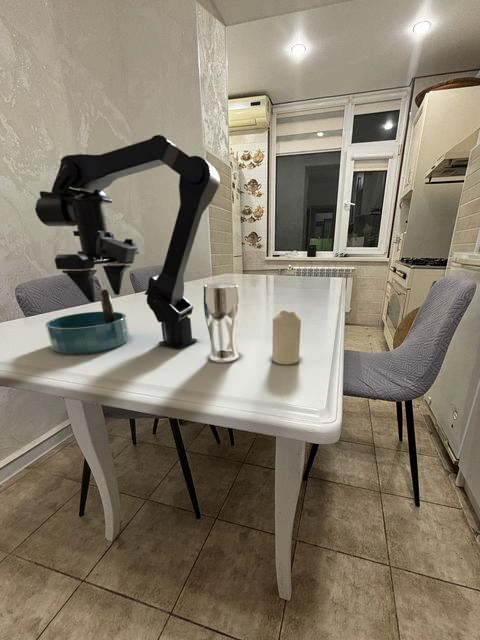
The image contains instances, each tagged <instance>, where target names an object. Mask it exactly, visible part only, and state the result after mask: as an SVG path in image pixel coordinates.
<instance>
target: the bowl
mask: <svg viewBox="0 0 480 640" xmlns="http://www.w3.org/2000/svg"><path fill="white" fill-rule="evenodd" d="M113 312H114V318H115V321H114V322H111V323H107V324H105V319H104V314H103V310H101V311H88V312H79V313H73V314H67V315H63V316H60V317H55V318H52V319H50V320H48V321H46V323H45V329H46V333H47V336H48V341H49V344H50V347H51V348H50V349H52V350H53V351H55V352H57V353H59V354H63V355H88V354H95V353H101V352H106V351H109V350H112V349H115V348H118V347H121V346H122V345H123V344H125V343H126V342H127V341H128V340H129V339H130V331H129V327H128V320H127V315H126V313H123V312H118V311H113Z"/></svg>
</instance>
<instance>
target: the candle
mask: <svg viewBox="0 0 480 640" xmlns="http://www.w3.org/2000/svg"><path fill="white" fill-rule="evenodd" d="M301 319H302V318H300V317H299V316H298V314H297V313H296V312H295V311H291V312H289V311H287V310H282V311H280V312H279V313H278V314H276V315H275V316H274V317H273V318H272V351H271V352H272V353H271V354H272V356H271V357H272V358H271V359H272V361H273V362H274V363H276V364H280V365H293V364H294V365H295V364H297V363H298V362H299V360H300V349H301V348H300V347H301V346H300V345H301V328H302V327H301V326H302V320H301Z"/></svg>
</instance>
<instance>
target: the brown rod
mask: <svg viewBox="0 0 480 640" xmlns="http://www.w3.org/2000/svg"><path fill="white" fill-rule="evenodd" d="M99 299H100V303H101V309H102V311H103V314H104V319H105V324H107V323H111V322H114V321H115V318H114V312H115V311H114V307H113V301H112V297H111V292H110V290H108V289H106V288H105V289H101V290H100V291H99Z"/></svg>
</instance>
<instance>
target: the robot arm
mask: <svg viewBox="0 0 480 640" xmlns="http://www.w3.org/2000/svg"><path fill="white" fill-rule="evenodd" d="M165 165H166V166H167V167H168V168H169V169H170V170H172V171H174V172H175V173H176V174H178V175H179V179H178V180H179V181H178V193H179V208H178V212H177V216H176V219H175V222H174V226H173V230H172V234H171V237H170V241H169V244H168V248H167V252H166V255H165V260H164V262H163V267H162V270H161V272H160V273H159V274H158V275H153V276H150V277H149V279H148V282H147V285H148V286H147V290H146V291H145V292H144V295H145V296H146V305H148V307H149V309H150V310H151V311H152V313H153V314H154V316H155V318H156V321H157V322H158V323H160V325H161V333H162V341H159V342H158V344H159V345H161V346H164V347H170V348H174V349H182V348H184V347H186V346H189V345H191V344H193V343H196V342H197V341H198V339H197V338H195V337H193V332H192V321H191V317H189V316H191V315H192V314H193V310H194V305H193V304H191V303H190V302H189V301H188V300H187V298H185V297H184V295H185V283H184V275H185V271H186V268H187V265H188V262H189V258H190V256H191V252H192V249H193V245H194V242H195V238H196V235H197V232H198V229H199V226H200V222H201V219H202V215H204V212H205V211H206V209H207V208H208V207H209V205H210V204H211V203H212V201H213V199H214V197H215V195H216V193H217V191H218V189H219V187H220V179H221V178H220V175H219V173H218V170H217V169H216V167H214V166H213V165H211V163H209V162H208V161H207V160H206V159H204V158H203V157H201V156H199V155H191V156H189V155H188V154H187V153H185V152H184V151H182V149H180V148H179V147H177V146H176V145H175V144H174V143H173V142H172V141H171V140H169V139H168V138H167V137H166V136H164V135H161V134H156V135H153V136H152V137H151V138H148V139H145V140H142V141H139V142H136V143H131V144H130V145H126V146H123V147H120V148H117V149H114V150H111V151H108V152H104V153H100V154H88V153H87V154H85V153H78V154H67V155H64V156H62V158H61V159H60V164H59V169H58V171H57V174H56V177H55V180H54V181H53V185H52V188H51V191H45V190H40V191H39V196H40V197H38V199H37V200H36V203H35V207H34V211H35V214H36V216H37V218H38V220H40V222H41V223H42V224H44V225H45V226H47V227H76V229H77V230H72V232H73V236H74V237H78V238H79V245H80V249H81V250H77V253H63V254H62V253H61V254H56V256H55V258H54V263H55V268H56V270H61V273H62V274H66V275H67V276H68V278H69V279H70V280H71V281H72V282H73V283H74V285H76V287H77V288H78V289H79V290H80V292H81V293H82V294H83V295H84V297H85V298H86V299H87V300H88V302H90V303H96V293H95V287H94V285H95V284H94V276H95V274H96V273H97V271H98V270H97V269H94V268H95V265H102V264H105V265H102V268H103V271H104V273H105V275H106V278H107V281H108V283H109V285H110V287H111V290H112V291H113V294H114V295H115V296H120V294H121V288H122V283H123V278H124V274H125V272H126V271H127V270H128V269H129V268H131V264H134V261H135V256H136V255H139V249H138V244H137V241H136V240H135V239H132V238H125V239H124V240H118V239H116V238H115V234H114V233H113V231H109V230H108V226H107V219H106V215H105V214H106V213H105V208H104V204H112V203H113V199H111V198H110V197H109V196H108V195H107V194H105V192H104V191H103V190H105V189H107V188H109V187H110V186H111V185H112V184H113V182H114V181H116V180H118V179H121V178H124V177H128V176H131V175H134V174H138V173H141V172H145V171H147V170H151V169H155V168H158V167H161V166H165Z"/></svg>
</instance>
